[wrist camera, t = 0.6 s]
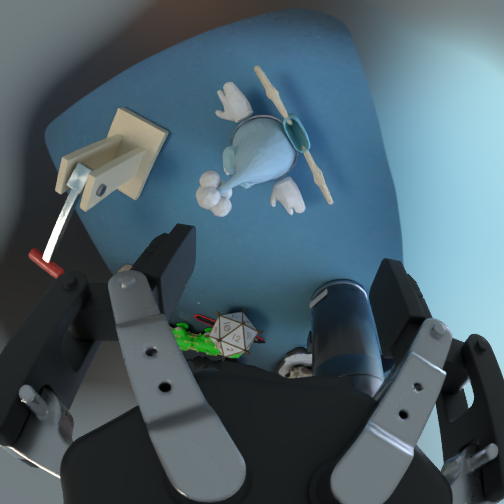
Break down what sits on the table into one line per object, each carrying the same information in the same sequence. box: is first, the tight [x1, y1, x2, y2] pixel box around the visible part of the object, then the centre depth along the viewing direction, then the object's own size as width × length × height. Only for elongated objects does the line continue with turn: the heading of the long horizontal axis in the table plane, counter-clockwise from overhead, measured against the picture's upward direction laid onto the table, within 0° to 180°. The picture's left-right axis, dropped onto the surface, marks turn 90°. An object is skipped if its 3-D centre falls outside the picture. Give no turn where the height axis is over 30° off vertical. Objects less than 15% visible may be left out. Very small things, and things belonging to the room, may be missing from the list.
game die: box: [204, 307, 264, 360], centre depth 46 cm, size 9×8×10 cm
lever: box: [29, 162, 95, 279], centre depth 27 cm, size 13×5×2 cm, turn 148°
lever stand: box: [55, 107, 169, 211], centre depth 30 cm, size 11×8×13 cm
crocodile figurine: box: [171, 322, 242, 358], centre depth 52 cm, size 7×18×4 cm, turn 87°
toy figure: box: [196, 65, 333, 217], centre depth 27 cm, size 17×10×15 cm, turn 30°
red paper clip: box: [194, 315, 265, 343], centre depth 51 cm, size 2×14×1 cm, turn 69°
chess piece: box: [187, 356, 237, 369], centre depth 52 cm, size 4×4×10 cm
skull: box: [278, 351, 312, 378], centre depth 53 cm, size 10×12×6 cm
